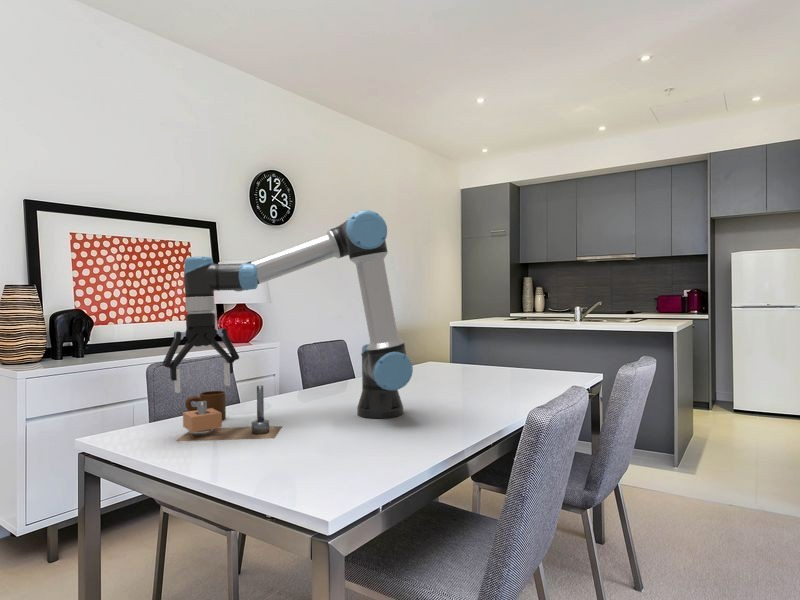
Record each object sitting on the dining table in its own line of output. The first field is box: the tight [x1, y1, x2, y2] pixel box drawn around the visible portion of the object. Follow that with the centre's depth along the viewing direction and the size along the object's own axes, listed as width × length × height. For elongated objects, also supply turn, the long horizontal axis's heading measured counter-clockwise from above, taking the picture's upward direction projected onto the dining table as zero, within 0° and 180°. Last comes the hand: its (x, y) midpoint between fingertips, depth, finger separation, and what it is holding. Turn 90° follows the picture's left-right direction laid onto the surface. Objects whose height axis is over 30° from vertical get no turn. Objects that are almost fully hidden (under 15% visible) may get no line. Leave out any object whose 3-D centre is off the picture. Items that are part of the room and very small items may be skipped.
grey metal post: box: [192, 401, 213, 437], centre depth 145 cm, size 6×6×9 cm
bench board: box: [175, 425, 283, 442], centre depth 145 cm, size 26×13×1 cm, turn 93°
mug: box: [184, 390, 227, 422], centre depth 160 cm, size 12×8×9 cm, turn 130°
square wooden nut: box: [182, 408, 223, 432], centre depth 145 cm, size 8×8×4 cm
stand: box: [251, 385, 271, 435], centre depth 146 cm, size 5×5×13 cm
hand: (203, 388), depth 145 cm, fingers open, 13 cm apart
